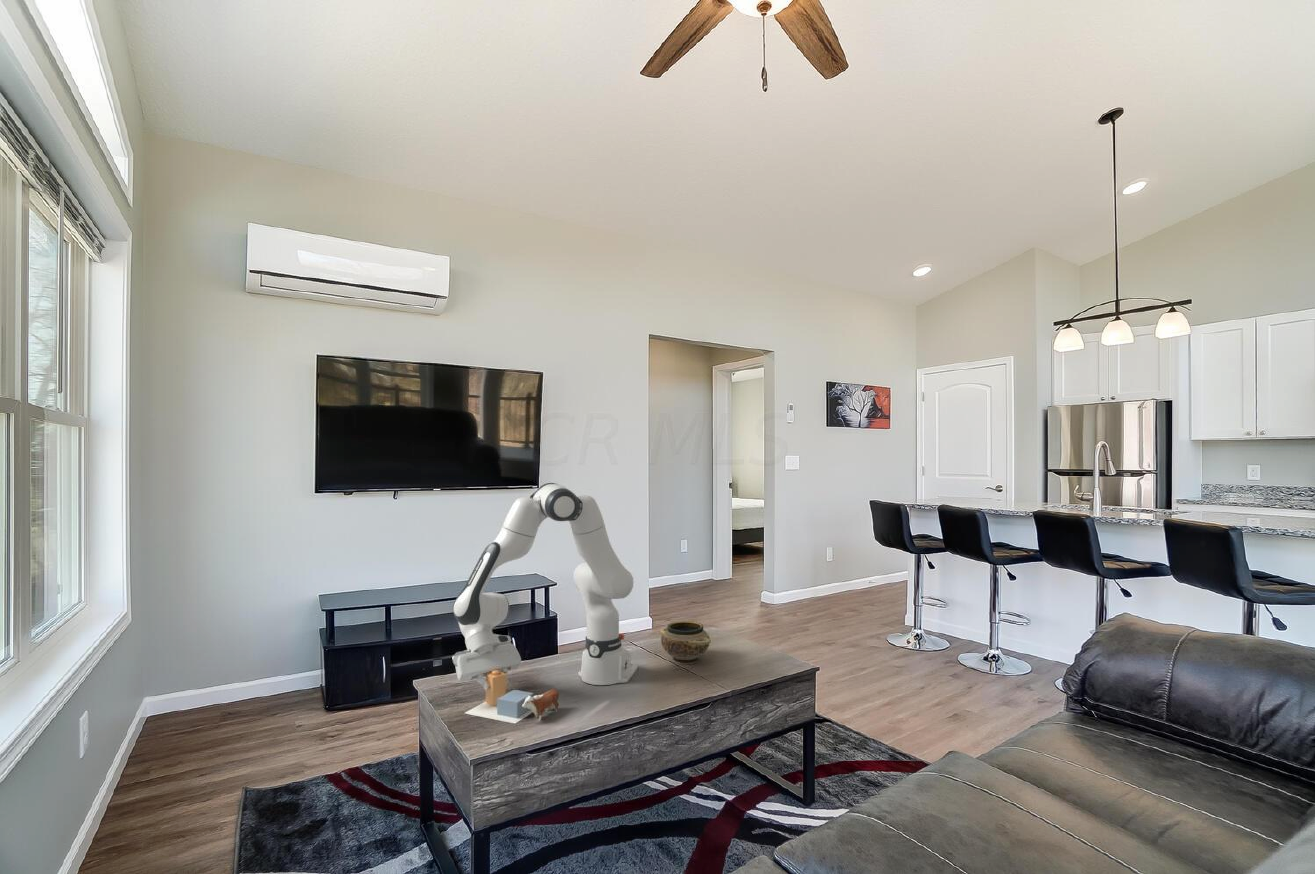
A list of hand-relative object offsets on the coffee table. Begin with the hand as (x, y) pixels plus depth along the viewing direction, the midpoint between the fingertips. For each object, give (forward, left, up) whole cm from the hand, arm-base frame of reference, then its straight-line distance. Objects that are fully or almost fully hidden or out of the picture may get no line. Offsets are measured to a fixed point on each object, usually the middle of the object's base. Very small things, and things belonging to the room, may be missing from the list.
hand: (496, 686), depth 194 cm
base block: (+3, +9, -5) cm, 11 cm away
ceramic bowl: (-63, +37, -6) cm, 73 cm away
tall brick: (0, -1, -5) cm, 5 cm away
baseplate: (+1, +5, -6) cm, 8 cm away
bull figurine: (+2, +18, -6) cm, 19 cm away
